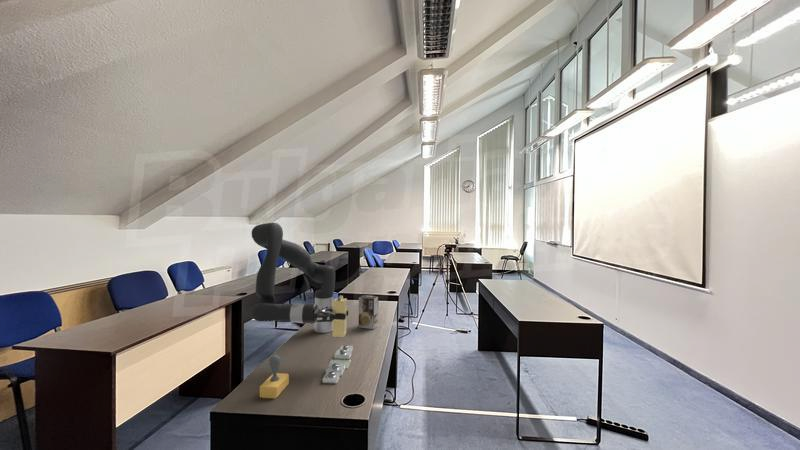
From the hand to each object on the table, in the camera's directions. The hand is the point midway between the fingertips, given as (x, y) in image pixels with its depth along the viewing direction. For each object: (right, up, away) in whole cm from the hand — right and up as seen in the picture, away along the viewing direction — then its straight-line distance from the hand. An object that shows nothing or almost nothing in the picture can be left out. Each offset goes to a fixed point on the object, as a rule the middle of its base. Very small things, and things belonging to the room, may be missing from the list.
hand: (346, 314), depth 137 cm
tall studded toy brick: (-3, -8, 0) cm, 8 cm away
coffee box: (+4, -19, +48) cm, 52 cm away
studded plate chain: (-3, -20, +1) cm, 20 cm away
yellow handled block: (-21, -20, -21) cm, 36 cm away
